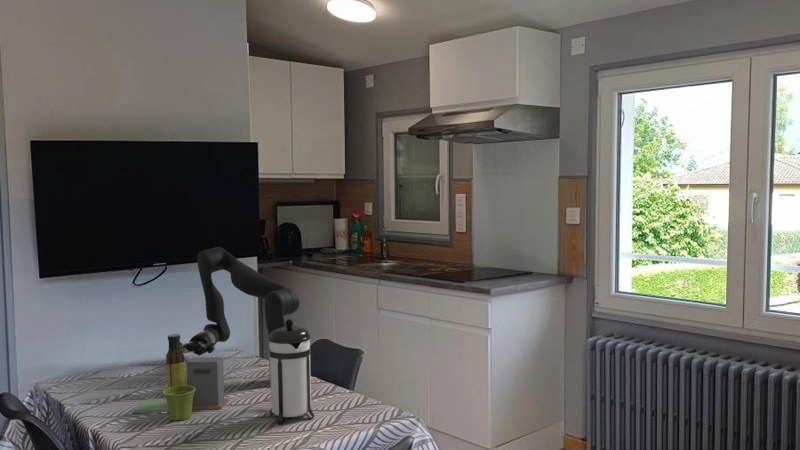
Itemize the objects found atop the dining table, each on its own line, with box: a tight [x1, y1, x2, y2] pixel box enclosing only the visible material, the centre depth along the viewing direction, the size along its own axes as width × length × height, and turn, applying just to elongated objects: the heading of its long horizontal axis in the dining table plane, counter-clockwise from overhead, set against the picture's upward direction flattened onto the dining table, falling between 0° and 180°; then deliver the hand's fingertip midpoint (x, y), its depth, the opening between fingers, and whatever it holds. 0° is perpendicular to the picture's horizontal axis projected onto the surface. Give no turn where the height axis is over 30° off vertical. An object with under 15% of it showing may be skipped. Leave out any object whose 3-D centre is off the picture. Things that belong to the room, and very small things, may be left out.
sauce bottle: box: [165, 333, 187, 389], centre depth 232 cm, size 6×6×20 cm
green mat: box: [133, 398, 169, 414], centre depth 216 cm, size 11×11×1 cm
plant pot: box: [162, 385, 196, 422], centre depth 206 cm, size 9×9×9 cm
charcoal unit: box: [185, 356, 229, 411], centre depth 217 cm, size 12×8×15 cm, turn 87°
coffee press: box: [267, 319, 315, 425], centre depth 206 cm, size 17×16×30 cm
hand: (187, 352), depth 242 cm, fingers open, 8 cm apart
